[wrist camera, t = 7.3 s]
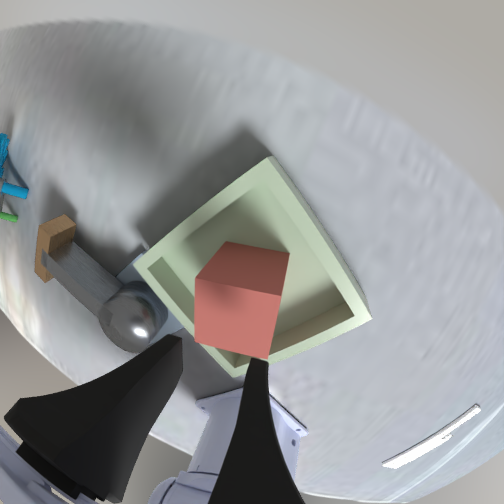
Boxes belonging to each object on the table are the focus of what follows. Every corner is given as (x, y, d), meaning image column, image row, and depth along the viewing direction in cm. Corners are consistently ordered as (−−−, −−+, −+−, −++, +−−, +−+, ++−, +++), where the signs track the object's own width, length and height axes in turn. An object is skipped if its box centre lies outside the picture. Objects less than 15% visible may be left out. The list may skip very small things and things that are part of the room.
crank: (178, 301, 19) (157, 328, 16) (156, 338, 22) (137, 363, 19) (67, 213, 19) (38, 225, 16) (58, 256, 21) (34, 271, 18)
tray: (366, 297, 17) (372, 319, 15) (240, 356, 21) (233, 378, 19) (273, 155, 15) (266, 157, 13) (151, 250, 19) (132, 264, 17)
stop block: (290, 253, 17) (281, 296, 12) (279, 308, 18) (267, 359, 14) (225, 241, 17) (194, 277, 13) (221, 295, 19) (194, 341, 14)
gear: (6, 113, 16) (-37, 181, 11) (51, 127, 20) (20, 198, 15) (-7, 186, 21) (-30, 255, 16) (30, 197, 25) (12, 266, 21)
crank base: (199, 316, 20) (196, 320, 20) (132, 351, 24) (129, 355, 24) (145, 249, 19) (141, 252, 19) (90, 301, 23) (86, 304, 22)
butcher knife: (486, 410, 20) (489, 416, 19) (400, 464, 26) (401, 470, 25) (475, 402, 19) (477, 409, 18) (381, 460, 26) (381, 466, 25)
